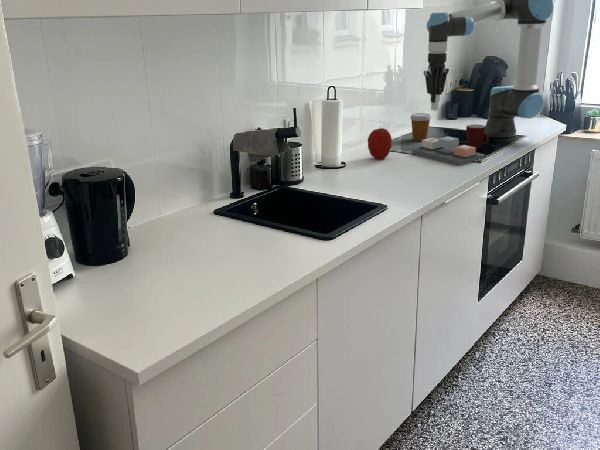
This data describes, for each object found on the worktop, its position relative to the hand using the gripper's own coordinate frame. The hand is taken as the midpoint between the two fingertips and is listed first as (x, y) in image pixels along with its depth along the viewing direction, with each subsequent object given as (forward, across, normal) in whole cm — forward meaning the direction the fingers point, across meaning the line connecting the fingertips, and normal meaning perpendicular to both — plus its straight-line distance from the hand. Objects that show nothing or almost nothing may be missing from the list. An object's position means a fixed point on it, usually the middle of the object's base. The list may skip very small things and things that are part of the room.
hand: (434, 110), depth 252 cm
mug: (+19, -20, +8) cm, 28 cm away
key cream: (+16, 0, 0) cm, 16 cm away
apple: (+19, +24, -7) cm, 31 cm away
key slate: (+14, 0, +9) cm, 16 cm away
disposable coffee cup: (+19, -14, -21) cm, 31 cm away
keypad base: (+18, 0, +9) cm, 21 cm away
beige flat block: (+16, +1, +18) cm, 24 cm away
